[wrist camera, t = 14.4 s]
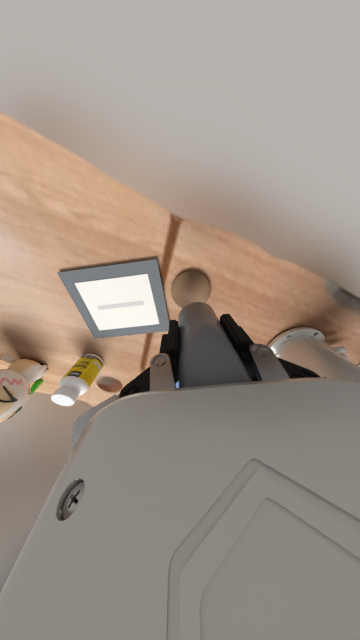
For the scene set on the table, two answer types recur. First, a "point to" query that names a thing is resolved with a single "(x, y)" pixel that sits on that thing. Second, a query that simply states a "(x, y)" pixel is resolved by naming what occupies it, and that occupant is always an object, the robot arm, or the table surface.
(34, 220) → the table surface
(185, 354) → the marker
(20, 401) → the kitten
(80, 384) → the supplement bottle
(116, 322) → the grey picture frame
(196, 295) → the coaster
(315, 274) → the table surface
